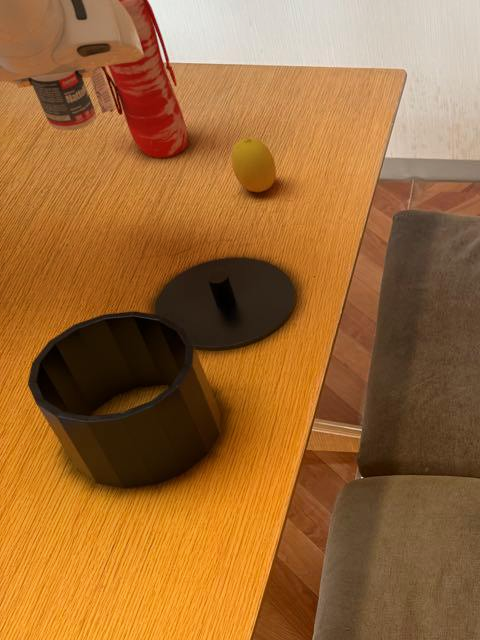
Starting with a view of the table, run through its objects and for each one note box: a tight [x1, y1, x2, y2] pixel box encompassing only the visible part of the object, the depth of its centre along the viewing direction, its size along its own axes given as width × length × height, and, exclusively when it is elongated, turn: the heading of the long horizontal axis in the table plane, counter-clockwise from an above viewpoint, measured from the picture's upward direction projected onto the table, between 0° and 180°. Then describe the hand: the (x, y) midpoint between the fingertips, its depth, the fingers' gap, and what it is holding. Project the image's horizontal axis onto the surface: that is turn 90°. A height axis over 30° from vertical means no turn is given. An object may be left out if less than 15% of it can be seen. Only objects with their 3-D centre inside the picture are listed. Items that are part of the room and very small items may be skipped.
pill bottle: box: [30, 70, 97, 131], centre depth 100 cm, size 5×5×9 cm
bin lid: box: [154, 256, 297, 352], centre depth 108 cm, size 17×17×5 cm
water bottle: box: [89, 0, 188, 159], centre depth 119 cm, size 12×8×25 cm, turn 93°
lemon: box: [231, 136, 277, 193], centre depth 120 cm, size 6×6×8 cm
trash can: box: [27, 310, 221, 489], centre depth 93 cm, size 16×16×10 cm
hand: (56, 74), depth 100 cm, fingers closed on pill bottle, 5 cm apart
